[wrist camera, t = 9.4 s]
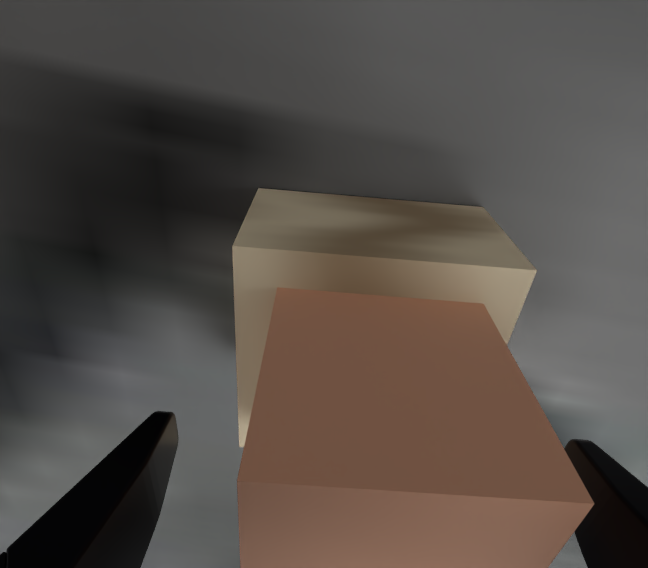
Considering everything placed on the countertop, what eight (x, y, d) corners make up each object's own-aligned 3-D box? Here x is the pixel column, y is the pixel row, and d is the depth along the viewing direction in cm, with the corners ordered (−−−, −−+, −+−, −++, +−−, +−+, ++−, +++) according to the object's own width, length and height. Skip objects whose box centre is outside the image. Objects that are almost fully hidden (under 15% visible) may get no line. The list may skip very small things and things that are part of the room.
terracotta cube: (483, 303, 10) (594, 503, 6) (436, 438, 13) (490, 645, 8) (277, 287, 10) (237, 481, 6) (272, 427, 13) (243, 632, 8)
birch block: (482, 207, 13) (536, 270, 10) (433, 372, 17) (460, 461, 13) (258, 188, 13) (232, 245, 9) (258, 360, 16) (239, 446, 13)
